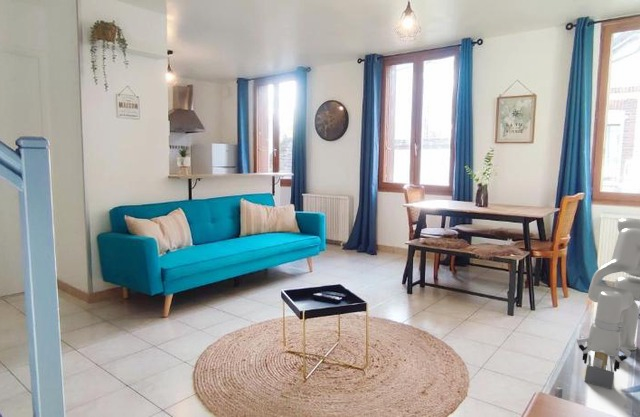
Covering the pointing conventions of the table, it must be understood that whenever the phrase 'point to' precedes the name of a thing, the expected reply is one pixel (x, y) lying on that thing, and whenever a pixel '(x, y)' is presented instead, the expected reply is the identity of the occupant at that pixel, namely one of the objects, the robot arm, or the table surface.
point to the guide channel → (599, 374)
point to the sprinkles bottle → (600, 360)
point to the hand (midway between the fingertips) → (599, 366)
